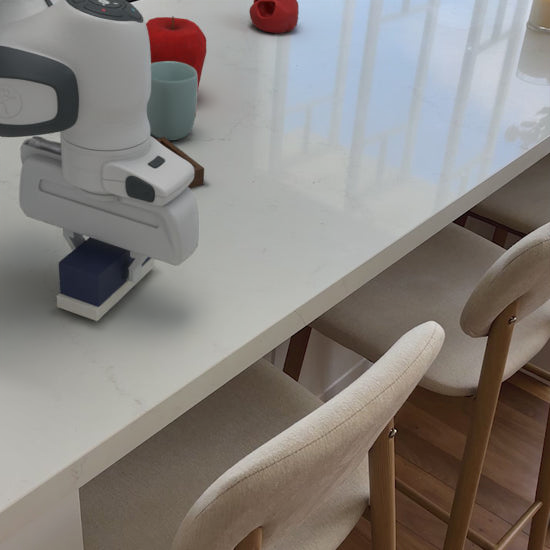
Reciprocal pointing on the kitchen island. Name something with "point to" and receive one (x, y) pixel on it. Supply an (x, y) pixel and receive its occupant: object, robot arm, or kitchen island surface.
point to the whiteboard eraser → (95, 278)
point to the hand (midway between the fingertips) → (107, 270)
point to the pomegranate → (274, 15)
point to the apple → (177, 42)
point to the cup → (172, 99)
